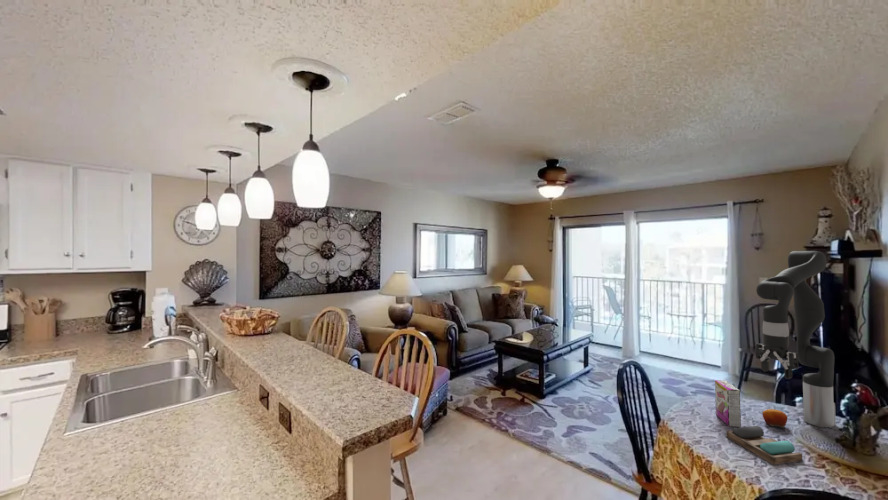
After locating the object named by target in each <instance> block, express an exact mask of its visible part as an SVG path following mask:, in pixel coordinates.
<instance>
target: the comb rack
mask: <svg viewBox="0 0 888 500" xmlns="http://www.w3.org/2000/svg"><path fill="white" fill-rule="evenodd" d="M726 438H728V439H729V440H731V441H733V442H734V443H736V444H737V445H739V446H741V447H743V448H744V449H746V450H748V451H749V452H751V453H753V454H755V455H756V456H758V457H760V458H761V459H763V460H764V461H767V462H768V463H770V464H771V465H779V464H780V465H781V464H787V463H796V462H803V453H801V452H792V453H784V454H776V455H771V454H769V453H767V452H765V451H764V450H762V449H761V448H760V445H761V444H762V443H769V442H778V440H776V439H774V438H773V437H772V438H765V437H764V436H762V437H754V438H745V439H742V438H740V437H739V436H737V435H735V434H733V431H732V430H727V431H726Z"/></svg>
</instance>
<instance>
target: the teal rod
mask: <svg viewBox="0 0 888 500" xmlns="http://www.w3.org/2000/svg"><path fill="white" fill-rule="evenodd" d="M777 441H778V440H777ZM760 448H761V449H762V450H764V451H765V452H767V453H769V454H771V455H776V454H784V453H795V451H796V448H795V445H794V444H793V443H792V442H791V441H790V440H779V441H778V442H769V443H762V444H761V445H760Z"/></svg>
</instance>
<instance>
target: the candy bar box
mask: <svg viewBox="0 0 888 500" xmlns="http://www.w3.org/2000/svg"><path fill="white" fill-rule="evenodd" d="M714 389H715V391H714V393H715V416H716V417H718V418H719V419H720V420H721V421H722V422H724V423H725V424H726V425H727V426H728V427H729V428H740V427H742V425H741V423H742V420H741V418H742V416H741V414H742V413H741V390H740V389H738V388H737V387H736V386H734V385H733V384H732V383H730V382H729V381H727V380H721V379H720V380H718V379H717V380H716V379H715V380H714Z"/></svg>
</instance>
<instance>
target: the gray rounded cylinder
mask: <svg viewBox="0 0 888 500" xmlns="http://www.w3.org/2000/svg"><path fill="white" fill-rule="evenodd" d="M731 431H733V434H735V435H737V436H739V437H740V438H742V439H745V438H754V437H764V436H765V432H764V430H763V428H762V427H761V426H759V425H752V426H751V425H750V426H741V427H732V430H731Z"/></svg>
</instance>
